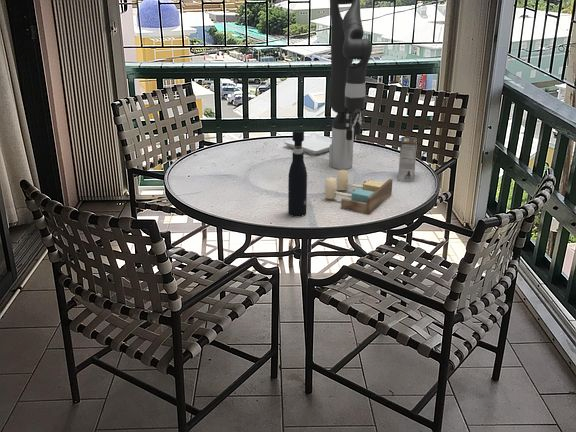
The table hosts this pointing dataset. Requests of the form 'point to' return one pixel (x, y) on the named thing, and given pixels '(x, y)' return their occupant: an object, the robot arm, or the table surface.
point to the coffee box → (407, 158)
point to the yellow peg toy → (343, 184)
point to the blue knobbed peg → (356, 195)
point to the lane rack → (369, 199)
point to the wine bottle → (297, 178)
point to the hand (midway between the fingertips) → (353, 137)
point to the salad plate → (313, 144)
